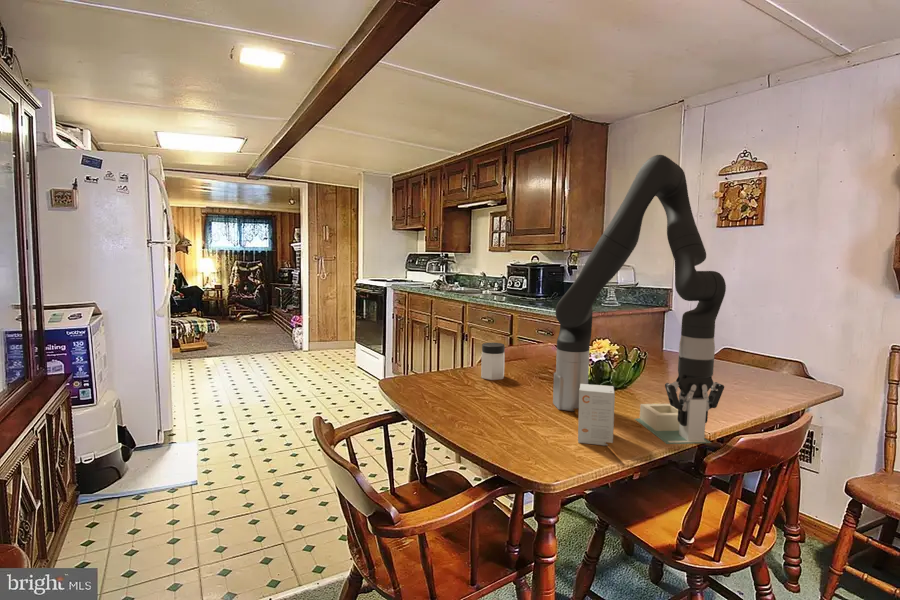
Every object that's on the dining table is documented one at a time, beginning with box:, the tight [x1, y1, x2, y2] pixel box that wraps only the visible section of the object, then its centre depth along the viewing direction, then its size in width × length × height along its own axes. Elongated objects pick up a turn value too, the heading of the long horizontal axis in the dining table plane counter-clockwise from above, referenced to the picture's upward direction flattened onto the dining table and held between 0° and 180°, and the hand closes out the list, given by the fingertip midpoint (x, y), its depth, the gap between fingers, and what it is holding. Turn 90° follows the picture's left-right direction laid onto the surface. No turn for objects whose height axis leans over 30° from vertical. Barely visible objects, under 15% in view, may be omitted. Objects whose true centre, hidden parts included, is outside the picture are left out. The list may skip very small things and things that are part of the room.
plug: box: [679, 395, 707, 441], centre depth 116 cm, size 4×5×10 cm
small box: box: [577, 383, 616, 447], centre depth 116 cm, size 8×6×13 cm
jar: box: [480, 342, 506, 381], centre depth 174 cm, size 9×8×12 cm
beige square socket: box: [639, 402, 680, 431], centre depth 125 cm, size 9×10×4 cm
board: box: [634, 417, 712, 445], centre depth 121 cm, size 11×17×1 cm, turn 4°
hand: (692, 424), depth 116 cm, fingers closed on plug, 4 cm apart
